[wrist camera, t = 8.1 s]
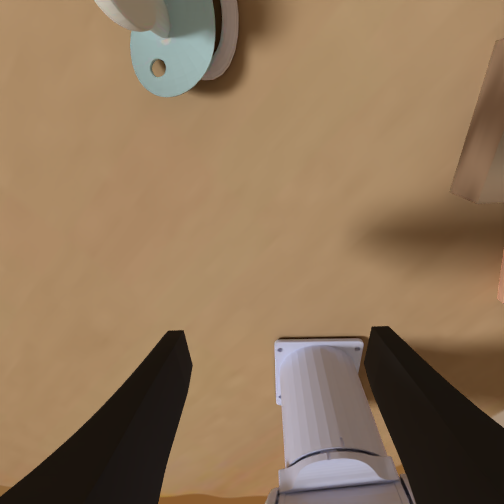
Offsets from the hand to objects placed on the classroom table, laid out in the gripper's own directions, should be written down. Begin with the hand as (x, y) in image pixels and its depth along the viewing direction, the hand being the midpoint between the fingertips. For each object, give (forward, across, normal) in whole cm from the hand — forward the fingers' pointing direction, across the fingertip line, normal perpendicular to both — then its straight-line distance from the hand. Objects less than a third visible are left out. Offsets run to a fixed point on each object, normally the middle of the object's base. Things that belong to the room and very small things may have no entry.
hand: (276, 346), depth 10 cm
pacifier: (+11, +4, -13) cm, 17 cm away
